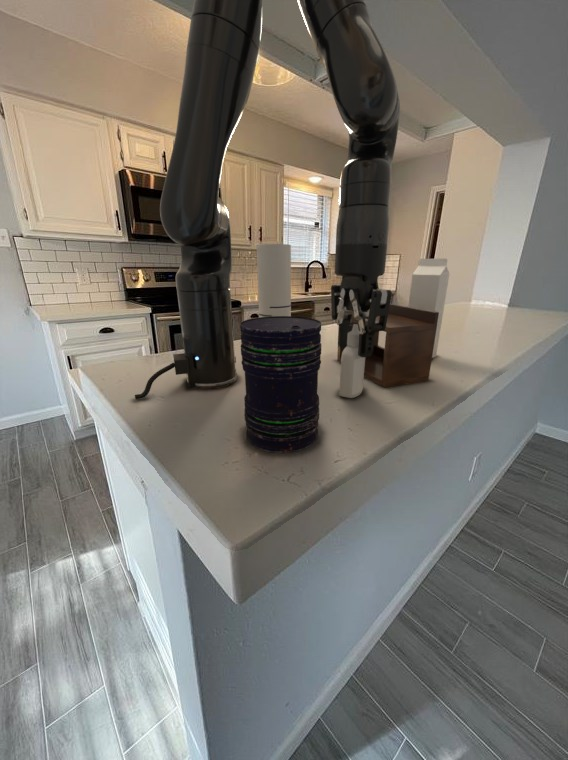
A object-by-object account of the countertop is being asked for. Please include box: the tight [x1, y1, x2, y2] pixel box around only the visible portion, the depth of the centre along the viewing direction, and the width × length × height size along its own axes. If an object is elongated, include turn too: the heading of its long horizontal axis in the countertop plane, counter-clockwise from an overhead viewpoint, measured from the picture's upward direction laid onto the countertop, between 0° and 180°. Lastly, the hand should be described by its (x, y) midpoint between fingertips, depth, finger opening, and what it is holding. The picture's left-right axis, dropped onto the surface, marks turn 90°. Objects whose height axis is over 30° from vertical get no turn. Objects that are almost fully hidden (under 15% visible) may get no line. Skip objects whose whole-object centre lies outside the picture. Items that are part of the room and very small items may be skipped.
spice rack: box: [336, 303, 439, 388], centre depth 66 cm, size 10×18×13 cm, turn 20°
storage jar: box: [239, 315, 322, 454], centre depth 41 cm, size 10×10×15 cm
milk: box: [407, 258, 450, 359], centre depth 74 cm, size 6×6×22 cm
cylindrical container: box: [256, 243, 292, 318], centre depth 72 cm, size 7×7×25 cm
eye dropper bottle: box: [338, 324, 365, 399], centre depth 54 cm, size 4×6×12 cm
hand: (354, 350), depth 54 cm, fingers open, 6 cm apart
